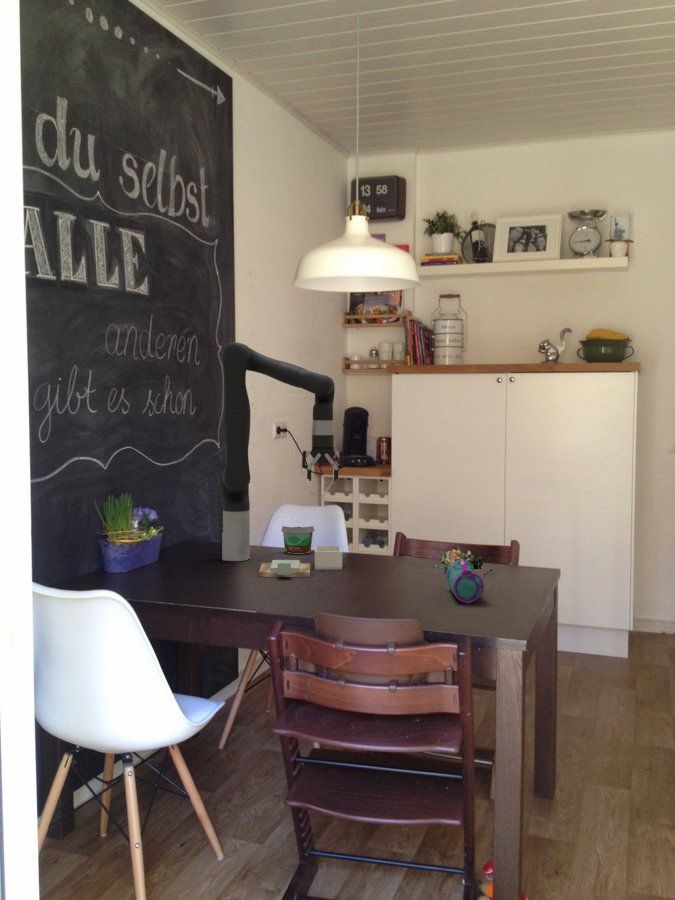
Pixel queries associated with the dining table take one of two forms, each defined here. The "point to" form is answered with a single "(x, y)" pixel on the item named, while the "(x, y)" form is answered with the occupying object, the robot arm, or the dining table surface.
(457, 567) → the pencil case
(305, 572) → the board
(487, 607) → the dining table surface
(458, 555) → the floral arrangement
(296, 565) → the pale grey block
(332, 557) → the tub
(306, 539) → the food container
